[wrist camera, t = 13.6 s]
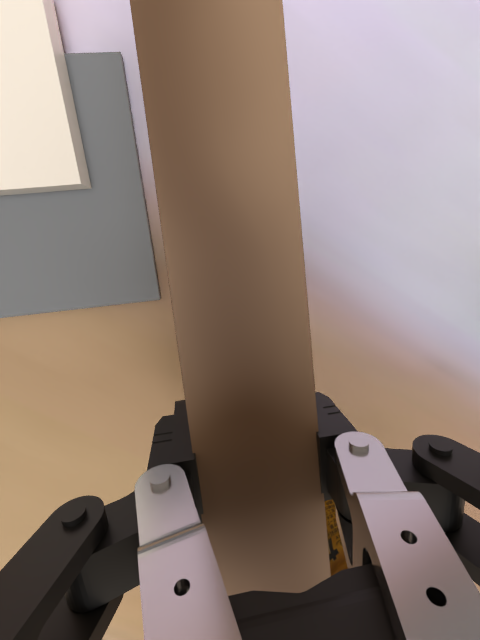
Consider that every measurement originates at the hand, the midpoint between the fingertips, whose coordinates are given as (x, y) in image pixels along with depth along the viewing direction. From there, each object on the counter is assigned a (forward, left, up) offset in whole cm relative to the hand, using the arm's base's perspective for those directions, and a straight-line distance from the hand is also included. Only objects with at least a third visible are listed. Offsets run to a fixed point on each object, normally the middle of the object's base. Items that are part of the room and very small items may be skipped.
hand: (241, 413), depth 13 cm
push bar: (0, -4, -2) cm, 5 cm away
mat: (+11, -10, -13) cm, 20 cm away
